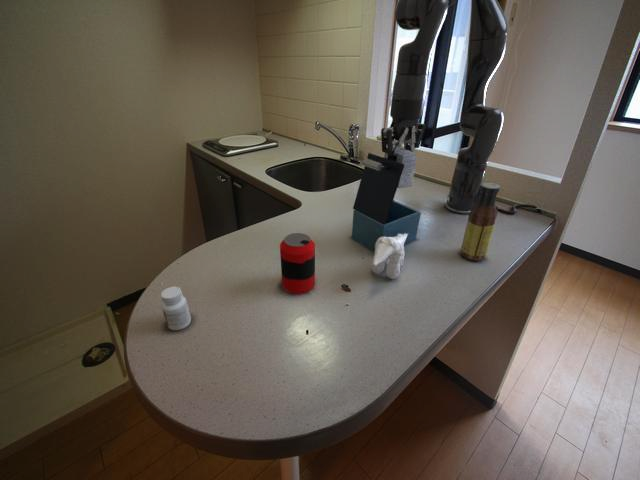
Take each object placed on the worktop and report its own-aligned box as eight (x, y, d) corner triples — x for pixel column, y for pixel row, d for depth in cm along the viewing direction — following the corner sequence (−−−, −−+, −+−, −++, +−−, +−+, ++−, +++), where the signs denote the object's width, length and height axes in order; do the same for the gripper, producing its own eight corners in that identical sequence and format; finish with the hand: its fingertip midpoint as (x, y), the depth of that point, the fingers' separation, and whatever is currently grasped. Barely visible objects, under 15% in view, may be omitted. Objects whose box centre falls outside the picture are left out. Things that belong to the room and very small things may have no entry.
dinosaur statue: (356, 289, 72) (360, 247, 66) (394, 243, 90) (399, 207, 84) (384, 299, 69) (391, 257, 63) (417, 250, 87) (425, 214, 81)
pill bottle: (171, 315, 64) (162, 285, 60) (194, 314, 64) (186, 284, 60) (164, 331, 60) (154, 300, 56) (188, 330, 61) (179, 299, 57)
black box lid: (370, 153, 82) (355, 150, 79) (405, 164, 74) (390, 161, 71) (354, 208, 88) (340, 208, 84) (385, 224, 80) (371, 225, 76)
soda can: (302, 299, 69) (301, 252, 63) (275, 287, 72) (272, 242, 66) (321, 281, 74) (321, 237, 68) (294, 270, 78) (293, 227, 72)
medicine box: (412, 186, 82) (418, 153, 78) (398, 189, 81) (403, 155, 76) (394, 177, 89) (399, 146, 84) (381, 179, 87) (384, 147, 83)
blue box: (386, 224, 100) (389, 198, 95) (415, 239, 92) (421, 212, 87) (351, 237, 92) (353, 210, 88) (380, 255, 84) (384, 226, 80)
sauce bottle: (483, 251, 87) (506, 182, 76) (485, 264, 81) (510, 191, 71) (458, 247, 88) (477, 179, 78) (458, 259, 83) (479, 188, 73)
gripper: (415, 92, 80) (405, 159, 89) (375, 96, 73) (368, 168, 81) (441, 96, 75) (427, 166, 84) (400, 99, 68) (390, 176, 76)
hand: (398, 166), depth 82 cm, fingers closed on medicine box, 5 cm apart
